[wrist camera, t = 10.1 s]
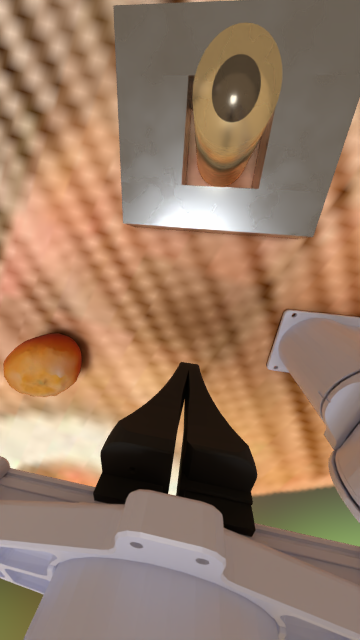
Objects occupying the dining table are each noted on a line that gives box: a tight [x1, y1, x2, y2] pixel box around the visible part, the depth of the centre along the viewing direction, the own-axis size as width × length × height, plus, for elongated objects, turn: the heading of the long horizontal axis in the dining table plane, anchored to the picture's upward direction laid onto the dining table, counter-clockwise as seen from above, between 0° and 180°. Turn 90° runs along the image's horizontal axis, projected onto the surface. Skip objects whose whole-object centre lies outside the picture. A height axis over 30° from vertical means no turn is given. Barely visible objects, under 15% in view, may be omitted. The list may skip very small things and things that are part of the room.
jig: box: [114, 0, 360, 239], centre depth 14 cm, size 16×12×3 cm
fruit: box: [3, 333, 82, 397], centre depth 23 cm, size 8×8×8 cm
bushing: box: [192, 22, 282, 187], centre depth 12 cm, size 4×4×7 cm
